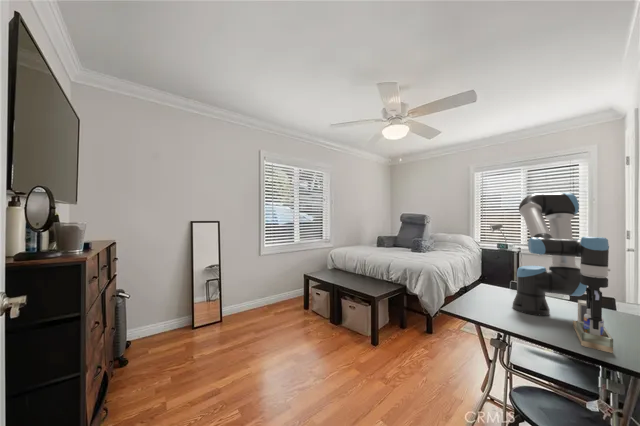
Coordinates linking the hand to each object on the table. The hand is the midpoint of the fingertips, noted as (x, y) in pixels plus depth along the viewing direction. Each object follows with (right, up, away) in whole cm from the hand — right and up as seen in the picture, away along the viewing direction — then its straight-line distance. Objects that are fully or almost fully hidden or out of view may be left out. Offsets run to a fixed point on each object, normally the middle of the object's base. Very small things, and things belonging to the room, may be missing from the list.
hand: (593, 333), depth 101 cm
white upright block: (+9, -2, +11) cm, 15 cm away
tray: (+3, -3, +4) cm, 6 cm away
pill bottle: (0, -1, 0) cm, 1 cm away
